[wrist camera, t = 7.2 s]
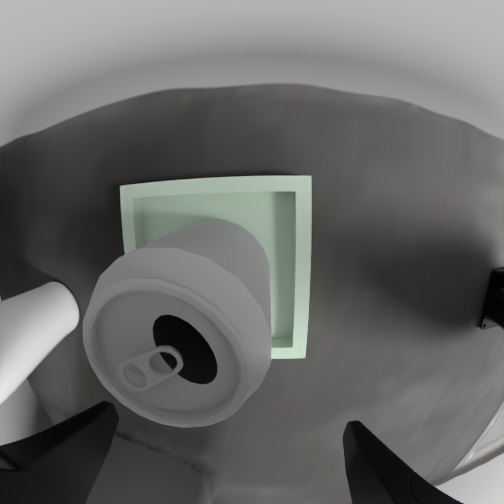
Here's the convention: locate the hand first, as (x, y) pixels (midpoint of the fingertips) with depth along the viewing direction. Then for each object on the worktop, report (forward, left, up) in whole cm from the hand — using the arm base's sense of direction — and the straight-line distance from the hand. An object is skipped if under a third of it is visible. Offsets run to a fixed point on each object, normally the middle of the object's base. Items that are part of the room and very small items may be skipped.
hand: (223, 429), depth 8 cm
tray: (+2, -3, -13) cm, 13 cm away
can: (+2, -3, -12) cm, 13 cm away
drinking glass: (+19, +1, -13) cm, 23 cm away
